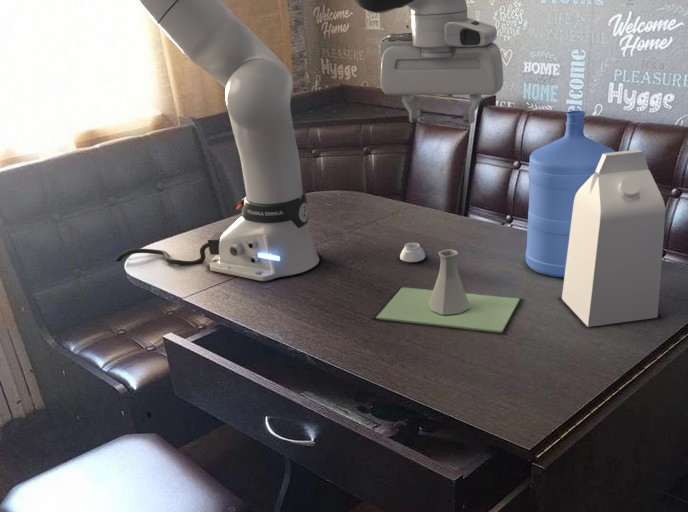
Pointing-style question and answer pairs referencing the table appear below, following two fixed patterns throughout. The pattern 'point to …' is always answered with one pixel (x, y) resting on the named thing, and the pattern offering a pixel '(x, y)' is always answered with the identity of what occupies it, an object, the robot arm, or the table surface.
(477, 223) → the table surface
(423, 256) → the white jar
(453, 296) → the flask
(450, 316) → the placemat
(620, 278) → the milk
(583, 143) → the water jug
